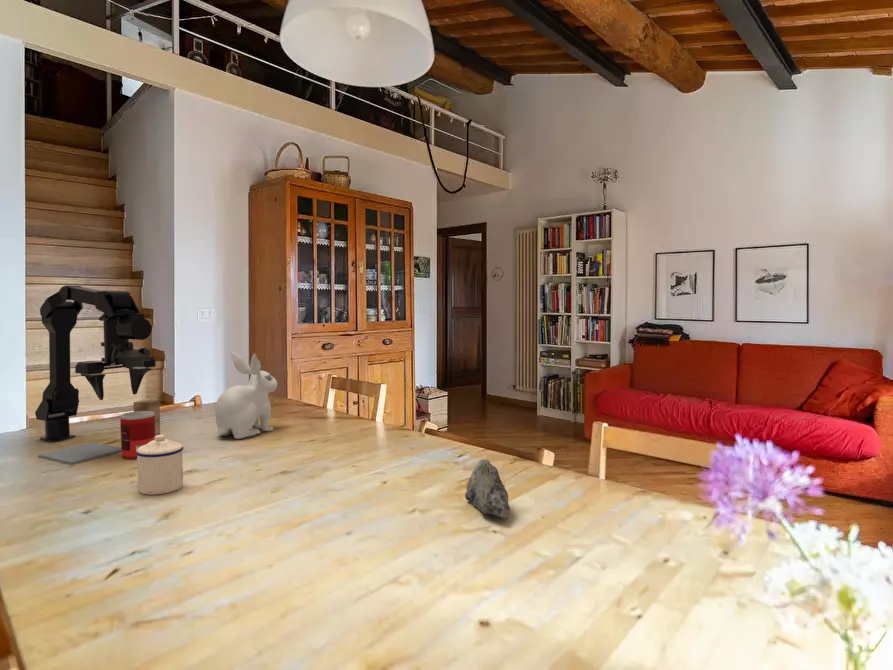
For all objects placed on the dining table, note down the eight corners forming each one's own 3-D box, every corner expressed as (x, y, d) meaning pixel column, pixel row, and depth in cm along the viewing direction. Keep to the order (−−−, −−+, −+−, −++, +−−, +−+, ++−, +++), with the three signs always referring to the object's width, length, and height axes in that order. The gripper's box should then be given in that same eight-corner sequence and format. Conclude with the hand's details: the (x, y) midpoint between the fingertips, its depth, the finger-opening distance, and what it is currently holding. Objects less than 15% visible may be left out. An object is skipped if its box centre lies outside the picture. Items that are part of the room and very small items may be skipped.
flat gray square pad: (38, 456, 145) (38, 454, 145) (93, 444, 157) (93, 442, 157) (70, 464, 139) (70, 462, 139) (125, 450, 151) (125, 448, 151)
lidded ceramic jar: (193, 485, 124) (192, 433, 124) (155, 498, 116) (154, 443, 116) (158, 477, 130) (156, 427, 129) (119, 488, 122) (117, 435, 121)
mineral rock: (506, 528, 104) (507, 474, 103) (450, 520, 107) (451, 468, 106) (518, 503, 116) (519, 455, 115) (468, 497, 119) (469, 450, 118)
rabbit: (288, 429, 177) (287, 350, 176) (231, 443, 160) (230, 355, 158) (263, 424, 184) (262, 348, 182) (206, 437, 166) (205, 353, 164)
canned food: (161, 451, 151) (160, 411, 150) (142, 460, 143) (141, 417, 142) (134, 450, 152) (133, 410, 151) (114, 459, 144) (113, 416, 143)
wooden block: (134, 444, 157) (133, 402, 156) (145, 440, 162) (144, 399, 161) (150, 445, 157) (149, 403, 156) (161, 441, 161) (160, 400, 160)
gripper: (100, 342, 137) (102, 405, 138) (168, 337, 153) (170, 394, 154) (72, 340, 142) (75, 401, 143) (141, 335, 158) (143, 391, 159)
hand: (118, 397), depth 150 cm, fingers open, 9 cm apart
